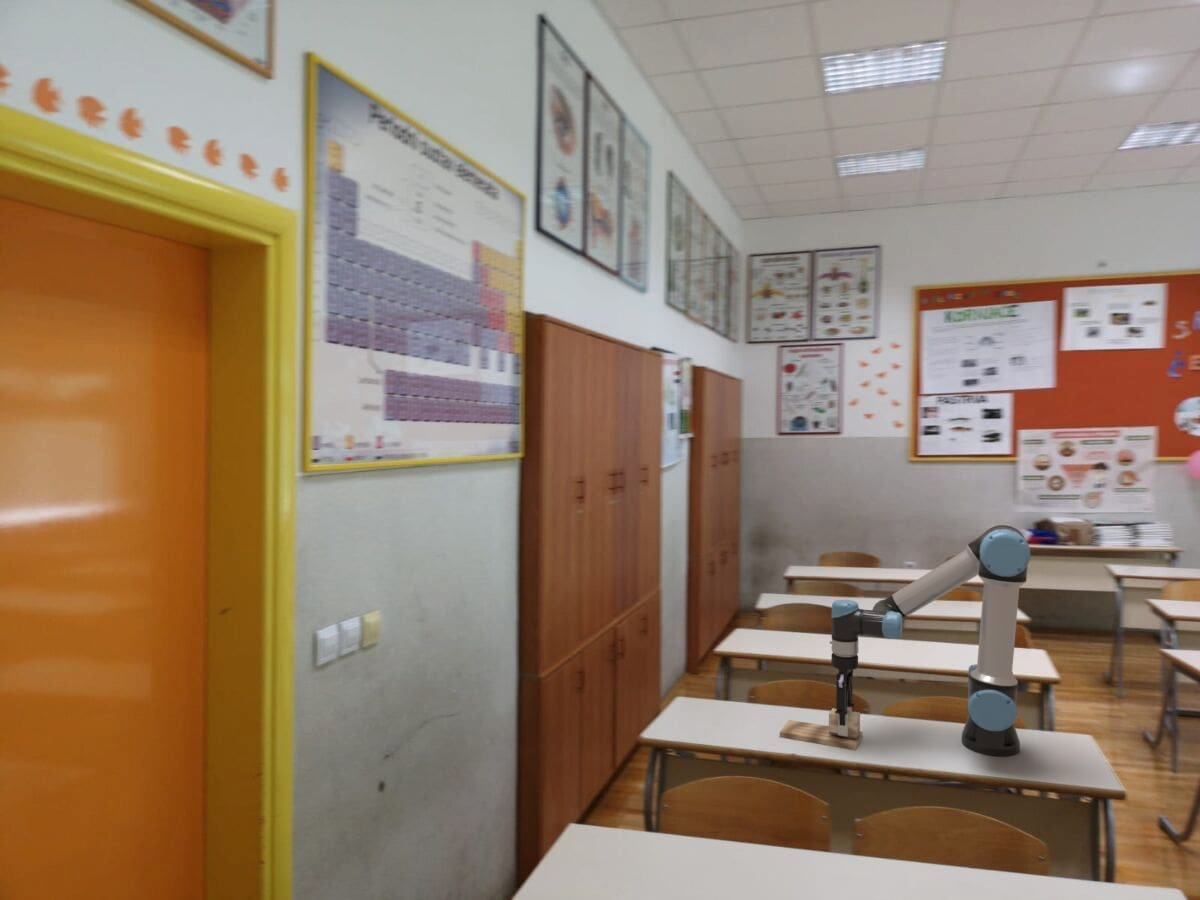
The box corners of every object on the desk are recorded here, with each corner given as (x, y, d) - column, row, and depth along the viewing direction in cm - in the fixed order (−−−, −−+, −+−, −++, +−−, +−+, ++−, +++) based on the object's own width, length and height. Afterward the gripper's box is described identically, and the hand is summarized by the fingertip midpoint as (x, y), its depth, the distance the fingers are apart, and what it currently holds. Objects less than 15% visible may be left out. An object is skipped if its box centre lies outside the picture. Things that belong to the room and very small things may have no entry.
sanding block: (859, 732, 234) (860, 712, 234) (856, 738, 230) (857, 718, 230) (832, 727, 238) (832, 708, 238) (828, 733, 234) (828, 713, 234)
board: (862, 736, 237) (862, 731, 237) (855, 750, 227) (855, 744, 227) (789, 724, 247) (789, 719, 247) (779, 736, 238) (779, 731, 238)
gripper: (837, 644, 243) (837, 719, 244) (825, 660, 227) (825, 740, 228) (863, 647, 240) (863, 723, 240) (852, 663, 224) (852, 745, 224)
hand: (844, 731), depth 234 cm, fingers closed on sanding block, 5 cm apart
